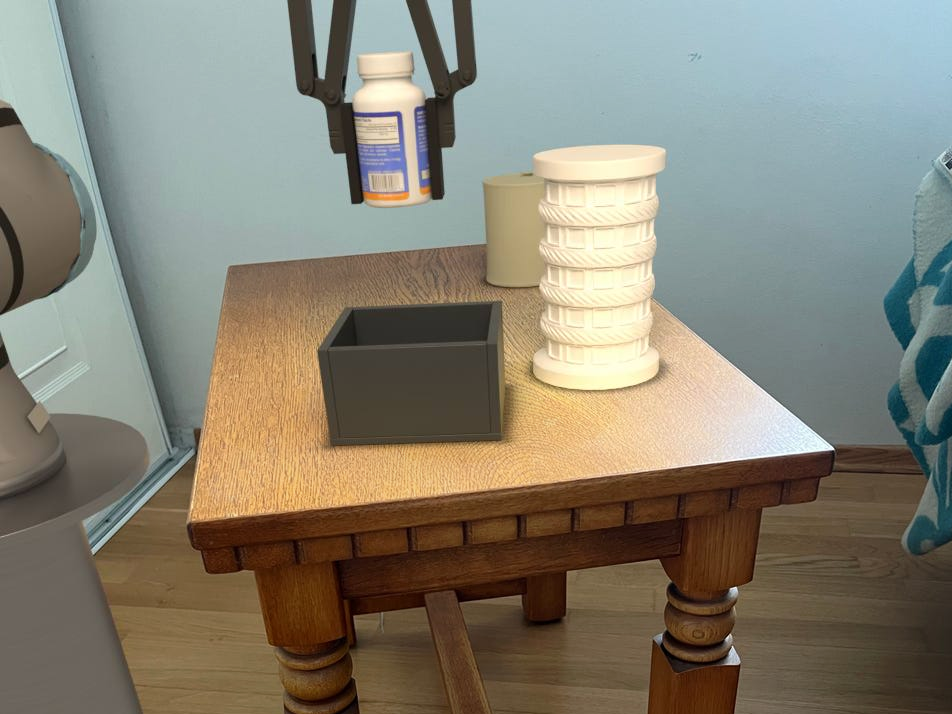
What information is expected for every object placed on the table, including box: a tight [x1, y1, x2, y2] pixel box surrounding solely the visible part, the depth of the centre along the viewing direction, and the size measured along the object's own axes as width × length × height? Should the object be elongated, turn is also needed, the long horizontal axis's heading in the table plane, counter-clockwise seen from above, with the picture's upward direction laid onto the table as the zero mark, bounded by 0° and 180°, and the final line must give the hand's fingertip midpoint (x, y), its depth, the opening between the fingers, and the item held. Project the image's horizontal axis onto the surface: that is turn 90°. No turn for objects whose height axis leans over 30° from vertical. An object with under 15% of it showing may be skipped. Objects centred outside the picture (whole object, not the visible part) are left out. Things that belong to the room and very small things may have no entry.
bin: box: [316, 300, 506, 447], centre depth 77 cm, size 14×13×8 cm
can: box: [482, 171, 545, 288], centre depth 115 cm, size 9×9×12 cm
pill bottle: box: [351, 51, 432, 209], centre depth 69 cm, size 5×5×10 cm
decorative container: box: [532, 144, 667, 391], centre depth 82 cm, size 12×12×18 cm
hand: (398, 198), depth 72 cm, fingers closed on pill bottle, 5 cm apart
